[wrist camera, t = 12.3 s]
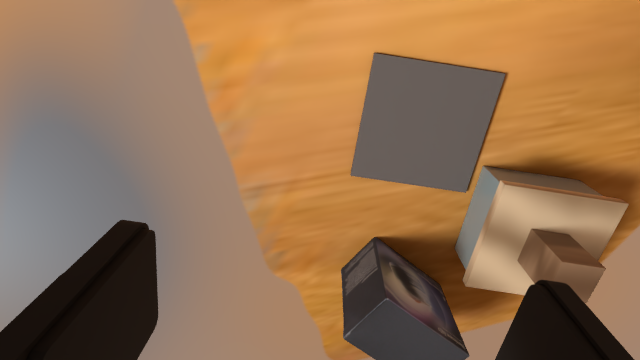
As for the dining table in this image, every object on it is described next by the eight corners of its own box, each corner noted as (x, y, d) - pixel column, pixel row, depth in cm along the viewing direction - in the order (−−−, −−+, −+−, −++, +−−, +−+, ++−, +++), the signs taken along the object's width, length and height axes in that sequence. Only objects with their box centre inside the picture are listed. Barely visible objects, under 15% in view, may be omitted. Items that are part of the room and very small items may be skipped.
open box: (483, 165, 38) (503, 186, 33) (579, 180, 38) (613, 202, 33) (454, 248, 42) (469, 276, 37) (541, 260, 42) (567, 290, 37)
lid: (500, 180, 33) (533, 212, 27) (620, 198, 33) (677, 235, 28) (462, 279, 37) (484, 325, 32) (569, 295, 38) (609, 343, 32)
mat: (374, 52, 34) (374, 53, 33) (503, 73, 34) (505, 73, 34) (350, 173, 39) (350, 175, 38) (464, 190, 39) (465, 192, 39)
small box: (444, 282, 44) (475, 357, 34) (405, 315, 46) (424, 394, 36) (376, 233, 41) (389, 298, 32) (338, 270, 44) (340, 341, 34)
